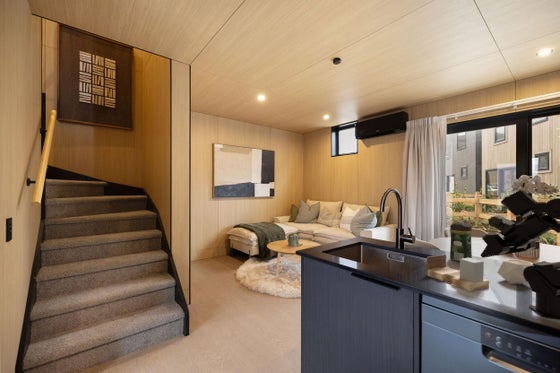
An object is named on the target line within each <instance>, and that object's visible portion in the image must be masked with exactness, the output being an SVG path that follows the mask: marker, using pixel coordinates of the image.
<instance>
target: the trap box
mask: <svg viewBox="0 0 560 373" xmlns="http://www.w3.org/2000/svg"><path fill="white" fill-rule="evenodd" d="M426 276H427V277H431V278H433V279H435V280H438V281H440V282H443V281H444V283H446V282H447V283H446V284H449V285H452V286H455V287H457V288H460V289H462V290H464V291H468V292H472V291H477V290H482V289H486V288H490V279H486V278H484V277H483V281H481V282H476V283H473V282H470V281H467V280H465V279H462V278H460V270H458V269H455V268H451V267H449V266H447V254H439V255H437V254H436V255H431V256H426Z"/></svg>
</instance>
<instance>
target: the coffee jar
mask: <svg viewBox="0 0 560 373" xmlns="http://www.w3.org/2000/svg"><path fill="white" fill-rule="evenodd" d="M449 229H450V230H449V231H450V246H449V247H450V250H449V251H450V252H449V258H450V260H452V261H454V262H458V263H460V259H463V258H472V259H473V256H472V255H473V251H472V233H473V229H472V225H471V224H470V223H469V222H464V221H460V222H455V223H451V224H450V228H449Z"/></svg>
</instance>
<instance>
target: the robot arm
mask: <svg viewBox="0 0 560 373" xmlns="http://www.w3.org/2000/svg"><path fill="white" fill-rule="evenodd" d="M500 204H502V206H504V207H505V208H506V209H507V210H508V211H509V212H510V213H511V214H512V215H514V217H516V218H517V217H521V218H524V219H523V220H521V221H520V222H518V223H515V222H514V221H512V220H510V219H508V218H507V217H505V216H502V215H492V216H490V218H488V219H487V221H488V222H487V224H488V226H490V227H493V228H495V229H497V230H498V231H499V234H498V233H488V234H485V235H484V236H482V238H481V239H482V240H483V242H484V243H486V246H485V248H484V249H483V250H482V252H481V253H480V257H481V258H482V259H485V258H490V257H498V256H504V255H505V256H506V255H512V254H517V253H522V252H527V251H532V250H534V249H536V248H537V246H538V242H536V241H538V240H540V239H541V236H543V235H545V234H547V233H548V232H550V231H552V230H553V231H554V232H555V233H557V234H560V222H559V221H560V197H558V198H552V199H550V200H548V201H547V202H546V201H537V200H535V199H534V198H533V197H531V196H530V195H529V194H528V193H527V191H525V190H523V189H519V190H518V191H516V192H514V193H512V194H510V195H506V196H505V197H504V198H503V199H502V200H501V201H500ZM525 217H526V218H525ZM558 220H559V221H558ZM500 235H501V236H502V237H501V236H500ZM532 264H533V265H532V266H528V267H526V268H525V269H524V271H523V276H524V278H525V279H526V280H525V282H527V283H528V284H529V287H530V290H531V292H533V293H535V305H532V304H529V305H528V307H529V308H530V309H532V311H534V312H535V313H537V314H538V315H539V316H541V317H544V318H550V319H557V320H560V261H554V262H550V261H546V260H542V261H539V262H534V263H532Z"/></svg>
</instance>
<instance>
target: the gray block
mask: <svg viewBox="0 0 560 373" xmlns="http://www.w3.org/2000/svg"><path fill="white" fill-rule="evenodd" d="M484 263H485V262H484V260H479V259H476V258H473V257H472V258H463V259H460V262H459V271H460V278H462V279H465V280H467V281H470V282H473V283H476V282H481V281H483V278H484V273H485V272H484Z"/></svg>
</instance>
